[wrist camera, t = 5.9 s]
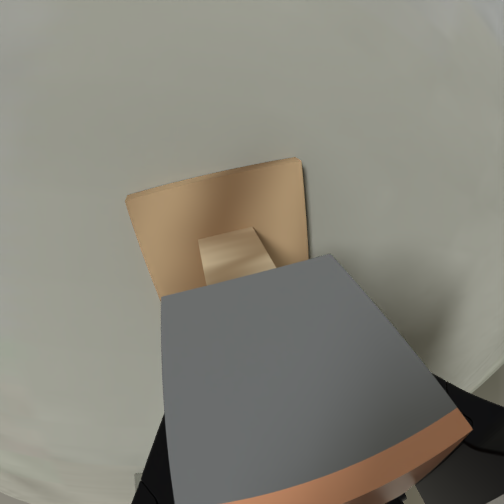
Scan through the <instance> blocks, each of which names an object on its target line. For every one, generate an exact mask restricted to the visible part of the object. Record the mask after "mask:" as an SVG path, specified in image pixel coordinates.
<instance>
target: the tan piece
mask: <svg viewBox="0 0 504 504" xmlns="http://www.w3.org/2000/svg"><path fill="white" fill-rule="evenodd" d="M125 203H126V206H127V209H128V212H129V215H130V218H131V221H132V225H133V228H134V231H135V233H136V236H137V239H138V242H139V245H140V248H141V251H142V254H143V256H144V259H145V262H146V265H147V267H148V270H149V273H150V275H151V278H152V280H153V283H154V286H155V288H156V291H157V293H158V296H159V298H160V301H161V297H162V296H167V295H171V294H175V293H179V292H183V291H187V290H191V289H195V288H199V287H203V286H208V285H212V284H216V283H220V282H224V281H227V280H231V279H235V278H239V277H243V276H247V275H251V274H255V273H259V272H263V271H267V270H270V269H274V268H278V267H282V266H286V265H290V264H293V263H297V262H301V261H305V260H308V259H309V257H308V239H307V224H306V210H305V197H304V184H303V173H302V162H301V160H299V159H297V158H296V157H293V158H287V159H282V160H276V161H271V162H265V163H260V164H255V165H250V166H245V167H240V168H235V169H230V170H226V171H221V172H217V173H212V174H208V175H203V176H199V177H195V178H191V179H187V180H183V181H179V182H175V183H171V184H167V185H163V186H159V187H155V188H152V189H148V190H144V191H141V192H137V193H134V194H130V195H127V198H126V200H125Z"/></svg>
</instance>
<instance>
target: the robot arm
mask: <svg viewBox="0 0 504 504" xmlns="http://www.w3.org/2000/svg"><path fill="white" fill-rule="evenodd" d="M432 375H433V376H434V377H435V378H436V380H437V381H438V382H439V384H440V385H441V386H442V388H443V389H444V390H445V392H446V393H447V394H448V396H449V397H450V398H451V400H452V401H453V402H454V404H455V405H456V406H457V408H458V409H459V410H460V412H461V413H462V415H463V416H464V417H465V419H466V420H467V422H468V423H469V424H470V426H471V427H472V429H473V430H472V431H471V432H470V433H469V434H468V435H467V436H466V437H465V438H464V439H463V441H462V442H461V443H460V444H459V445H458V446H457V447H456V448H455V449H454V450H453V451H452V452H451V453H450V454H449V455H448V456H446V457H445V458H444V459H443V460H442V461H441V462H440V463H439V464H438V465H437V466H436V467H435V468H433V469H432V470H431V471H430V472H429V473H428V474H427V475H426V476H424V477H423V478H422V479H421V480H420V481H418V482H417V483H416V485H415V486H416V487H417V489H418V491H419V493H420V495H421V497H422V498H423V500H424V502H425V504H504V407H502V406H500V405H497V404H495V403H492V402H490V401H487V400H484V399H482V398H480V397H477V396H475V395H473V394H470V393H468V392H466V391H464V390H462V389H460V388H458V387H456V386H454V385H453V384H451V383H449V382H446V381H445V380H443V379H442V378H440V377H438V376H436V375H434V374H433V373H432ZM141 480H142V481H140V482H139V485H138V487H137V490H136V493H135V496H134V498H133V501H132V503H131V504H175V501H174V494H173V488H172V480H171V473H170V465H169V456H168V447H167V437H166V425H165V413H164V415H163V418H162V421H161V424H160V426H159V429H158V432H157V435H156V437H155V440H154V443H153V446H152V448H151V451H150V454H149V457H148V459H147V462H146V465H145V468H144V471H143V473H142V476H141ZM406 499H407V498H406V495H405V493H403V494H402V495H400V496H398V497H397V498H395V499H393V500H391V501H389V502H387V503H385V504H404V503H403V502H402V501H404V500H406Z"/></svg>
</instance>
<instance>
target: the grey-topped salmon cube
mask: <svg viewBox="0 0 504 504" xmlns="http://www.w3.org/2000/svg"><path fill="white" fill-rule="evenodd" d="M161 352H162V380H163V398H164V413H165V425H166V437H167V447H168V456H169V465H170V473H171V480H172V488H173V494H174V501H175V504H385V503H387V502H389V501H391V500H393V499H395V498H397V497H398V496H400V495H402V494H403V493H405V492H406V491H407V490H408V489H410V488H411V487H412V486H413V485H415V484H416V483H417V482H418V481H420V480H421V479H422V478H423V477H424V476H426V475H427V474H428V473H429V472H430V471H431V470H432V469H433V468H435V467H436V466H437V465H438V464H439V463H440V462H441V461H442V460H443V459H444V458H445V457H446V456H448V455H449V454H450V453H451V452H452V451H453V450H454V449H455V448H456V447H457V446H458V445H459V444H460V443H461V442H462V441H463V439H464V438H465V437H466V436H467V435H468V434H469V433H470V432H471V431H472V430H473V429H472V427H471V426H470V424H469V423H468V422H467V420H466V419H465V417H464V416H463V415H462V413H461V412H460V410H459V409H458V408H457V406H456V405H455V404H454V402H453V401H452V400H451V398H450V397H449V396H448V394H447V393H446V392H445V390H444V389H443V388H442V386H441V385H440V384H439V382H438V381H437V380H436V378H435V377H434V376H433V375H432V373H431V372H430V371H429V369H428V368H427V367H426V366H425V364H424V363H423V362H422V361H421V359H420V358H419V357H418V356H417V354H416V353H415V352H414V351H413V349H412V348H411V347H410V346H409V344H408V343H407V342H406V341H405V339H404V338H403V337H402V336H401V335H400V333H399V332H398V331H397V330H396V328H395V327H394V326H393V325H392V324H391V322H390V321H389V320H388V319H387V318H386V317H385V315H384V314H383V313H382V312H381V311H380V309H379V308H378V307H377V306H376V305H375V304H374V302H373V301H372V300H371V299H370V298H369V297H368V295H367V294H366V293H365V292H364V291H363V290H362V289H361V287H360V286H359V285H358V284H357V283H356V282H355V281H354V279H353V278H352V277H351V276H350V275H349V274H348V273H347V272H346V270H345V269H344V268H343V267H342V266H341V265H340V264H339V263H338V261H337V260H336V259H335V258H334V257H333V256H332V255H331V254H327V255H323V256H320V257H316V258H312V259H308V260H305V261H301V262H297V263H293V264H290V265H286V266H282V267H278V268H274V269H270V270H267V271H263V272H259V273H255V274H251V275H247V276H243V277H239V278H235V279H231V280H227V281H224V282H220V283H216V284H212V285H208V286H203V287H199V288H195V289H191V290H187V291H183V292H179V293H175V294H171V295H167V296H162V297H161Z"/></svg>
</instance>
